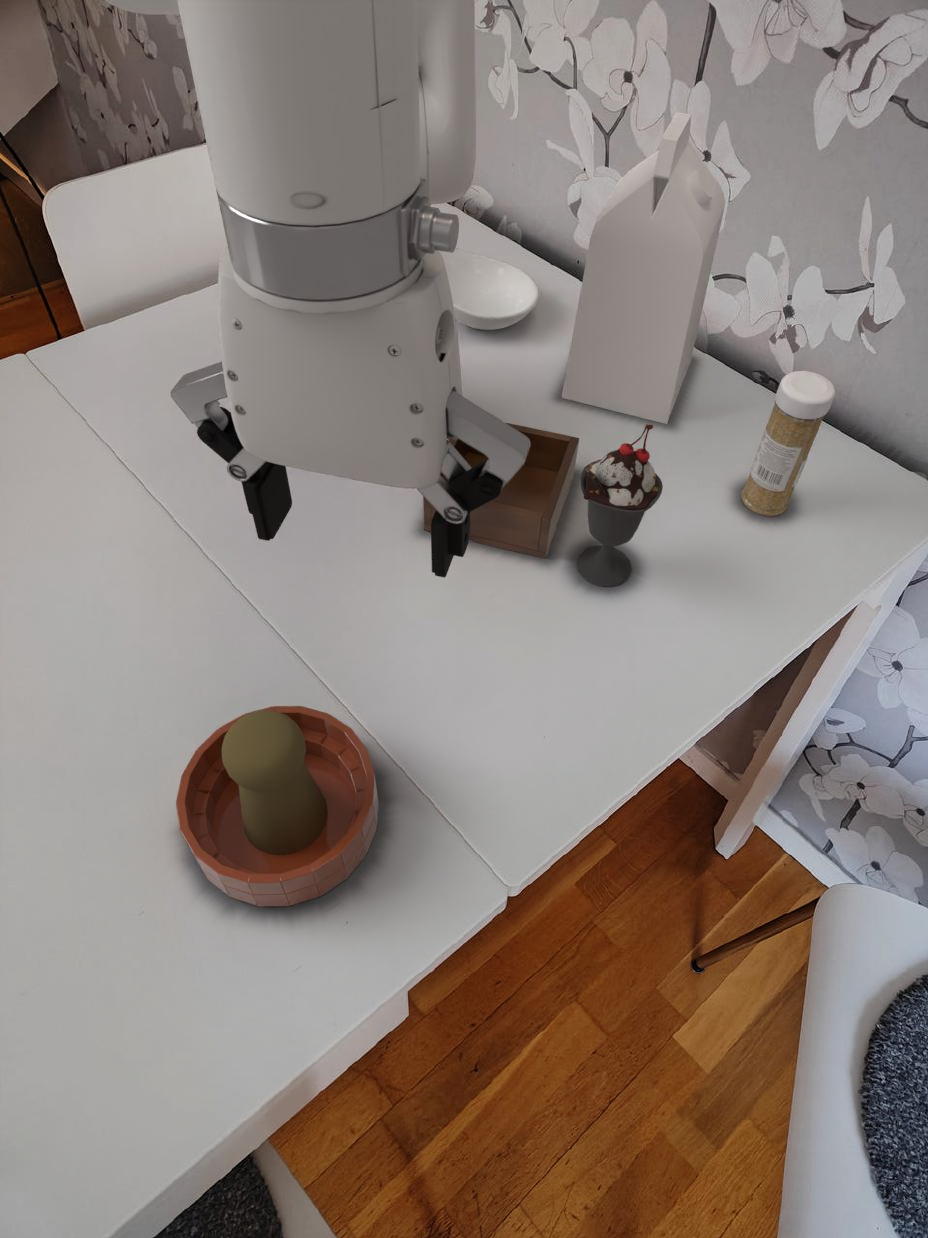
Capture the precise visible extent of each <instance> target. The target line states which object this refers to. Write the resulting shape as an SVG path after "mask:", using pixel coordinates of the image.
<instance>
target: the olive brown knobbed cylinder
mask: <svg viewBox="0 0 928 1238" xmlns="http://www.w3.org/2000/svg"><path fill="white" fill-rule="evenodd" d="M255 711H256V712H253V711H250V712H251V713H249V712H248V713H249V714H247V715H245V716H243V717H241V718H240V719H239V720H238V721H237V722H235V723H234V724H233V725H232V726H231V728H230V729H229V731H228V732H227V734H226V735H225V737H224V741H223V745H222V762H223V764H224V767H225V769H226V771H227V773H228V774H229V776H230V777H231V778H232V779H233V780H234V781H235V782H236V783H237V784H238V785H239V793H240V802H241V810H242V819H243V827H244V832H245V834H246V836H247V838H248V840H249V841H250V842H251V843H252V844H253V845H254V846H255V847H256V848H257V849H258V850H261V851H263V852H266V853H268V854H272V855H288V854H292V853H297V852H299V851H301V850H303V849H304V848H306V847H308V846H310V845H311V844H312V843H313V842H314V841H315V840H316V839H317V838H318V837H319V836H320V834H321V832H322V830H323V828H324V827H325V825H326V820H327V815H328V810H327V804H326V800H325V798H324V796H323V794H322V793H321V791H320V789H319V787H318V786H317V784H316V782H315V780H314V778H313V777H312V775H311V773H310V771H309V770H308V768H307V766H306V764H305V763H304V758H305V753H306V746H305V740H304V735H303V733H302V731H301V730H300V728H299V726H298V725H297V724H296V722H294V721H293V720H292V719H291V718H290V717H288V716H287V715H285V714H282V713H279V712H277V711H267V710H261V711H257V710H255Z"/></svg>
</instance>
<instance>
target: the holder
mask: <svg viewBox="0 0 928 1238" xmlns="http://www.w3.org/2000/svg"><path fill="white" fill-rule="evenodd" d="M504 422H505V421H504ZM505 423H506V424H508V425H509V426H511V427H513V428H514V429H516V430H518V431H519V432H521V433H522V434H524V435H526V436H527V437H528V438H529V440H530V442H531V446H530V449H529V452H528V454H527V457H526V460H525V463H524V465H523V466H522V467H521V468H520V469H519V471H518V472H517V473H516V474H515V475H514V477H513V478H512V479H511V480H510V481H509V482H508V483H507V484H506V485H505V486H504V487H503V488H502V490H501V492H500V494H499V496H498V497H497V498H495V499H493V500H491V501H489V502H488V503H486V504H484V505H482V506H480V507H478V508H477V509H475V510H473V511H471V512H470V535H469V541H470V542H473V543H478V544H480V545H486V546H490V547H494V548H499V549H503V550H507V551H512V552H516V553H519V554H520V553H521V554H525V555H529V556H533V557H537V558H542V559H546V558H547V556H548V553H549V550H550V547H551V544H552V541H553V538H554V535H555V532H556V530H557V526H558V524H559V521H560V517H561V515H562V511H563V508H564V505H565V503H566V500H567V497H568V494H569V492H570V488H571V485H572V483H573V479H574V476H575V469H576V463H577V459H578V458H577V457H578V450H579V445H580V444H579V443H580V437H577V436H572V435H568V434H562V433H558V432H553V431H549V430H544V429H539V428H534V427H529V426H524V425H520V424H515V423H510V422H505ZM448 441H449V442H450V443H451V444H452V445H453V447H454V448H455V449H456V450H457V451H458V452H459V453H460V455H461V456H462V457H463V458H464V459H465V460H466V462H467V463H468V464H469V465H470V466H471V467H472V468H473V467H474V466H476V465H478V464H480V463H481V462H483V461H485V460H486V459H488V457H486V456H485V455H484V454H482V453H481V452H479V451H478V450H476V449H474V448H473V447H471V446H469V445H468V444H466V443H464V442H463V441H461V440H460V439H457V440H450V439H448ZM440 476H441V477H442V478H443V479H444V480H445V481H446V482H449V480H448V479H447V478H446V477H445V476H444V474H443V473H442V472H441V473H440ZM422 498H423V499H422V502H423V504H422V505H423V527H424V531H427V532H430V533H431V522H432V519H433V516H434V514H435V511H436V509H435V508H434V507H433V506H432V505H431V504H430V503H429V502H428V501H427V499H426V498H425V497H424V496H423V495H422ZM469 541H468V542H469Z"/></svg>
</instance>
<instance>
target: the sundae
mask: <svg viewBox="0 0 928 1238" xmlns="http://www.w3.org/2000/svg"><path fill="white" fill-rule="evenodd" d="M652 429H654V425H653V424H645V426H644V429H643V431H642V434H641V435H640V436H639V437H638V438H637V439H636V440H635V441H633V442H631V443H628V442H625V443H622V444H621V445H620V446H619V448H618V449H615V450H611V451H609V452H607V453H606V454H605V455H604V456H603V457H602V458H601V459H597V460H595V461H592V462H589V463H588V464H587V465H586V466H584V467H583V469H582V471H581V474H580V476H579V477H580V478H579V483H580V484H579V485H580V491H581V493H582V495H583V499H584V500H585V501H587V522H588V529H589V533H590V535H591V536H592V538H593V539H595V540H596V541H597V542H598V543H600V544H596V545H592V546H589V547H586V548H585V549H584V550H582V551H581V552H580V553H579V554H578V556H577V558H576V563H575V564H576V569H577V572H578V573H579V575H580V576H581V577H582V579H584V580H585V581H587V582H589V583H591V584H592V585H595V586H599V587H615V586H619V585H621V584H623V583H624V582H626V581H627V580H628V579H629V577H630V576H631V573H632V569H633V566H632V563H631V560H630V558H629V557H628V555H627V554H626V553H625V552H623V551H622V550H621V549H619V548H616V547H618V546H621V545H624V544H627V543H629V542H630V541H631V540H632V538H633V537H634V535H635V534H636V532H637V530H638V529H639V527H640V524H641V522H642V519H643V517H644V515H645V513H646V512H647V511H648V510H650V509H651V508H653V506H654V505H655V504H656V503H657V501H659V499H660V497H661V495H662V492H663V485H664V484H663V482H662V480H661V477H660V476H659V475H658V474H657V472H655V469H654V467H653V464H652V463H651V462H650V461H649V460H650V458H651V454H650V452H649V451H648V450H647V449H646V444H647V438H648V434H649V431H650V430H652ZM644 434H645V436H644ZM643 436H644V440H643V446H642V448H641V447H640V448H637V449H636V450H635V449H634V445H635V444H636V443H638V442H639V441H640V440H641V438H643Z"/></svg>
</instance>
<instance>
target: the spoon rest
mask: <svg viewBox="0 0 928 1238" xmlns="http://www.w3.org/2000/svg"><path fill="white" fill-rule="evenodd" d="M439 252H440V253H441V255H442V257H443V260H444V263H445V267H446V271H447V276H448V280H449V284H450V289H451V294H452V300H453V306H454V313H455V320H456V322H459V323H461V324H462V325H464V326H466V327H469V328H471V329H474V330H475V329H476V330H482V331H484V330H486V331H487V330H489V331H491V330H501V329H504V328H507V327H511V326H513V325H515V324H516V323H518V322H520V321H521V320H523V319H524V318H526V317H527V316H528V315H529V314H530V313H531V312H532V311H533V310H534V308H535V307H536V306H537V304H538V301H539V297H540V289H539V287H538V284H537V282H536V281H535V280H534V279H533V278H532V277H531V276H530V275H529V273H526V272H525V271H523V270H522V269H520V268H518V267H516V266H514V265H512V264H509V263H507V262H505V261H502V260H499V259H495V258H492V257H489V256H485V255H482V254H479V253H474V252H470V251H468V250H464V249H461V248H458V247H456V248H455V250H454V252H453V253H451V252H445V251H439Z"/></svg>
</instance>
